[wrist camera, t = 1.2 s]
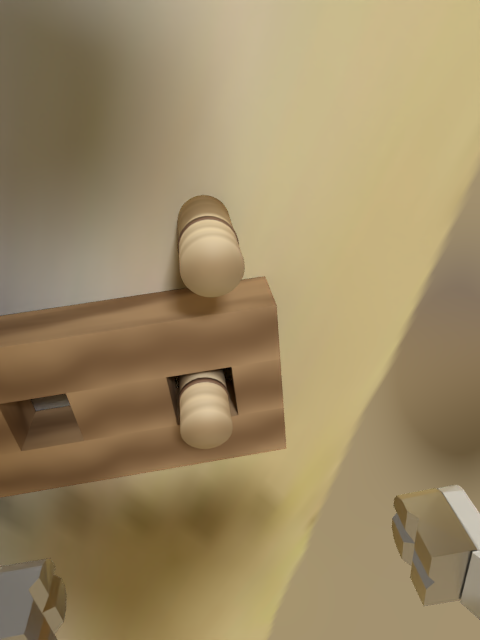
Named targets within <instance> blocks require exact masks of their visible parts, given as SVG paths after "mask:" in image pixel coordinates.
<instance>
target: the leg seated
mask: <svg viewBox="0 0 480 640" xmlns="http://www.w3.org/2000/svg"><path fill="white" fill-rule="evenodd" d="M179 406H180V432H181V437H182V439H183V440H184V441H185V442H186V443H187V444H188V445H190V446H192V447H195V448H199V449H210V448H214V447H217V446H220V445H221V444H223V443H224V442H226V441H227V440H228V439H229V437H230V436H231V434H232V430H233V425H232V419H231V413H230V407H229V396H228V391H227V388H226V382H225V376H224V369H223V368H221V369H215V370H209V371H203V372H196V373H190V374H184V375H179Z"/></svg>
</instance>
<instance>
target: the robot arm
mask: <svg viewBox="0 0 480 640" xmlns="http://www.w3.org/2000/svg"><path fill="white" fill-rule="evenodd" d="M394 508H395V510H396V512H397V513H396V515H395V516H394V517H393V518H392V531H393V537H394V540H395V544H396V547H397V549H398V552H399V553H400V556H401V558H402V559H403V560H404V561H405V562H407V563H408V564H409V565H411V566H412V567H411V575H410V578H411V580H412V582H413V584H414V587H415V589H416V591H417V593H418V595H419V597H420V599H421V601H422V604H423V606H428V605H434V604H440V603H446V602H452V601H459V600H461V601H460V603H461V604H462V605H464V606H465V607H466V608H467V609H468V610H469V611H470V612H471V613H473V614H474V615H475V616H476V617H477V618H478V619H479V620H480V513H479V512H478V510H477V509H476V507H475V506H474V504H473V503H472V502H471V500H470V499H469V497H468V496H467V494H466V493H465V491H464V490H463V488H461V487H459V485H452V486H447V487H442V488H437V489H436V488H433V489H428V490H422V491H418V492H413V493H407V494H402V495H397V496H396V497H395V498H394ZM54 570H55V565H54V563H53V562H52V560H51V558H49V559H42V560H36V561H30V562H24V563H18V564H12V565H6V566H0V640H57V638H56V636H55V633H56V632H57V630H58V629H59V628H60V626H61V625H62V624H63V622H64V618H65V612H66V590H65V585H64V583H63V581H62V579H61V578H60V577H58V576H56V575H54Z"/></svg>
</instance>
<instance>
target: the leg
mask: <svg viewBox="0 0 480 640" xmlns="http://www.w3.org/2000/svg"><path fill="white" fill-rule="evenodd" d="M178 237H179V239H178V253H179V264H180V275H181V278H182V280H183V282H184V284H185V285H186V286H187V288H188V289H190V290H191V291H192V292H194V293H195V294H197V295H200V296H203V297H219V296H223V295H225V294H227V293H229V292H231V291H232V290H233V289H235V288H236V287H237V286H238V284H239V283H240V281H241V280H242V277H243V274H244V269H245V265H244V259H243V256H242V253H241V250H240V247H239V242H238V238H237V235H236V233H235V231H234V229H233V226H232V223H231V220H230V217H229V214H228V211H227V209H226V207H225V206H224V205H223V203H222V202H220V201H219V200H218V199H216V198H214V197H211V196H206V195H201V196H196V197H193V198H191V199H190V200H188V201H187V202H186V203H185V204H184V205H183V206H182V208H181V209H180V212H179V215H178Z"/></svg>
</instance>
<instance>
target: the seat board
mask: <svg viewBox="0 0 480 640" xmlns="http://www.w3.org/2000/svg"><path fill="white" fill-rule="evenodd" d="M228 367H230V369H231V376H232V380H225V382H226V388H227V391H228V396H229V407H230V413H231V419H232V425H233V430H232V434H231V436H230V437H229V439H228V440H227V441H226V442H224V443H223V444H221V445H220V446H217V447H214V448H210V449H199V448H195V447H192V446H190V445H188V444H187V443H186V442H185V441H184V440H183V439H182V437H181V432H180V406H179V388H177V387H176V382H175V378H174V376H178V375H184V374H190V373H196V372H203V371H209V370H215V369H221V368H228ZM65 393H66V396H67V398H68V401H69V403H70V406H65V407H59V408H52V409H46V410H40V411H35V408H34V406H33V404H32V402H31V400H30V399H34V398H40V397H47V396H53V395H59V394H65ZM280 449H286V437H285V422H284V408H283V393H282V378H281V364H280V349H279V334H278V319H277V305H276V303H275V300H274V298H273V295H272V293H271V290H270V288H269V285H268V283H267V280H266V278H265V276H264V277H257V278H251V279H244V280H241V281H240V283H239V284H238V286H237V287H236V288H235V289H233V290H232V291H231V292H229V293H227V294H225V295H223V296H219V297H203V296H200V295H197V294H195V293H194V292H192V291H191V290H190V289H188V288H184V289H177V290H171V291H164V292H157V293H150V294H144V295H137V296H130V297H124V298H117V299H110V300H104V301H97V302H90V303H84V304H77V305H70V306H64V307H57V308H50V309H44V310H37V311H30V312H23V313H17V314H10V315H3V316H0V497H6V496H12V495H18V494H24V493H29V492H35V491H41V490H47V489H53V488H59V487H64V486H70V485H76V484H82V483H88V482H94V481H99V480H105V479H111V478H117V477H123V476H129V475H134V474H140V473H146V472H152V471H158V470H164V469H169V468H175V467H181V466H187V465H193V464H199V463H204V462H210V461H216V460H222V459H228V458H234V457H239V456H245V455H251V454H257V453H263V452H269V451H274V450H280Z"/></svg>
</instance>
